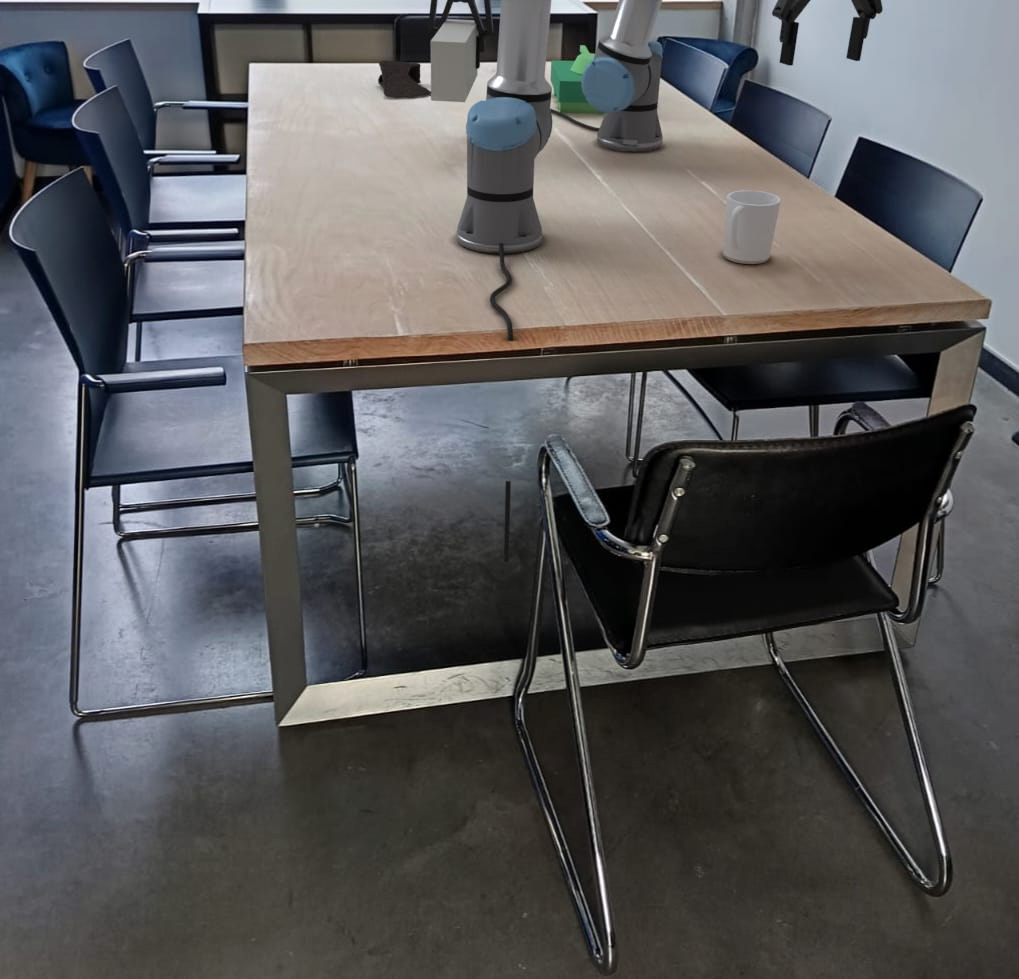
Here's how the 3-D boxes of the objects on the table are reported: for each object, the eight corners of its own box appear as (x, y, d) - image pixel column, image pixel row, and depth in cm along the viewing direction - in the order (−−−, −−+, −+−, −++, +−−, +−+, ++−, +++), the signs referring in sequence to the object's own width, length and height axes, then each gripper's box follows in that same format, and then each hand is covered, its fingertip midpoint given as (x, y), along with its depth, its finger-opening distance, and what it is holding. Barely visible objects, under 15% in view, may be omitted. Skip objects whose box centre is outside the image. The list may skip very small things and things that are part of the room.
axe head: (443, 87, 294) (392, 77, 287) (436, 115, 299) (385, 106, 292) (421, 62, 307) (371, 52, 300) (414, 89, 311) (365, 80, 304)
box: (465, 102, 230) (465, 42, 224) (430, 100, 230) (430, 40, 224) (477, 75, 254) (478, 20, 248) (446, 73, 254) (446, 19, 248)
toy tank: (613, 42, 302) (631, 66, 272) (610, 88, 309) (627, 117, 279) (549, 40, 301) (560, 65, 272) (547, 87, 308) (558, 116, 278)
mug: (736, 244, 196) (743, 187, 191) (781, 255, 191) (790, 197, 186) (704, 259, 189) (711, 200, 183) (750, 272, 184) (758, 211, 179)
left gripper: (890, -84, 179) (865, 53, 190) (762, -83, 170) (744, 61, 182) (921, -80, 173) (894, 61, 184) (790, -79, 165) (770, 70, 176)
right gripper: (508, -45, 240) (505, 65, 253) (417, -48, 241) (418, 61, 253) (506, -41, 234) (503, 71, 246) (412, -45, 235) (414, 67, 247)
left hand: (819, 62), depth 183 cm, fingers open, 13 cm apart
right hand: (460, 66), depth 250 cm, fingers closed on box, 7 cm apart
